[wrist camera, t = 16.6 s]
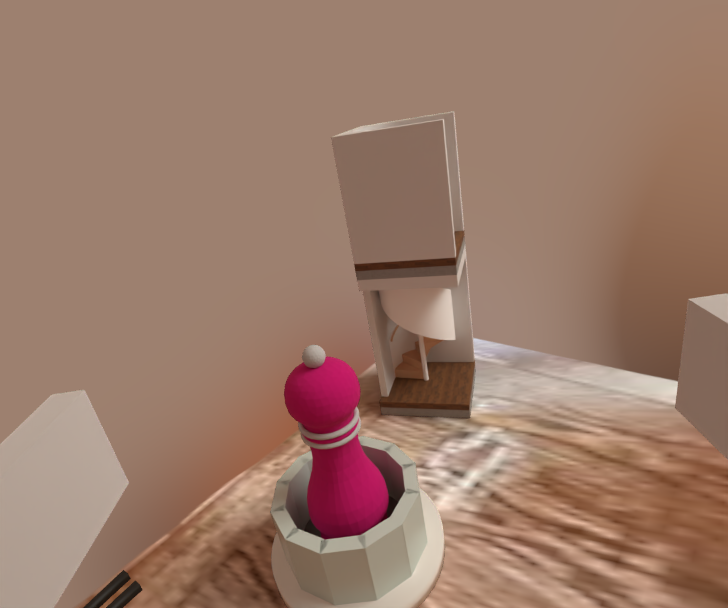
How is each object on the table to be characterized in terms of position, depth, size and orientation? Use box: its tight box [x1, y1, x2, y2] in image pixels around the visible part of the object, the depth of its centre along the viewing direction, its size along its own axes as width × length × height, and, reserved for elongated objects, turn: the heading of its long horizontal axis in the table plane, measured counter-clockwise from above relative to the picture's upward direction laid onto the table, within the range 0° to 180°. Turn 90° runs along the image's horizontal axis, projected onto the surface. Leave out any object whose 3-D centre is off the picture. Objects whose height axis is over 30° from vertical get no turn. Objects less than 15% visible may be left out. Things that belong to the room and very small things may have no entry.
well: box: [270, 436, 445, 608], centre depth 43 cm, size 16×16×8 cm
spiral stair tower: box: [331, 112, 476, 418], centre depth 58 cm, size 11×11×35 cm
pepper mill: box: [284, 345, 389, 540], centre depth 40 cm, size 7×7×20 cm
